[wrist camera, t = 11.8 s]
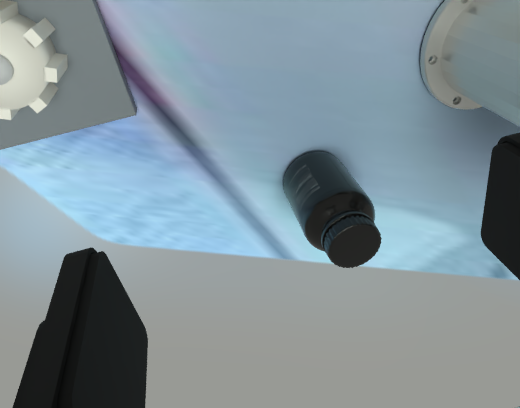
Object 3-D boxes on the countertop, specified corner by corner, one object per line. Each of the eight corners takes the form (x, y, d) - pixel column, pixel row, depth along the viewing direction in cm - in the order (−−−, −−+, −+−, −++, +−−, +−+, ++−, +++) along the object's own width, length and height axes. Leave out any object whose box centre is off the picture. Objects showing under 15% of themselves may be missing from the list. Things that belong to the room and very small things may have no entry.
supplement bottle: (293, 213, 48) (327, 288, 38) (272, 165, 44) (304, 234, 34) (350, 189, 47) (399, 258, 38) (334, 138, 44) (384, 200, 34)
